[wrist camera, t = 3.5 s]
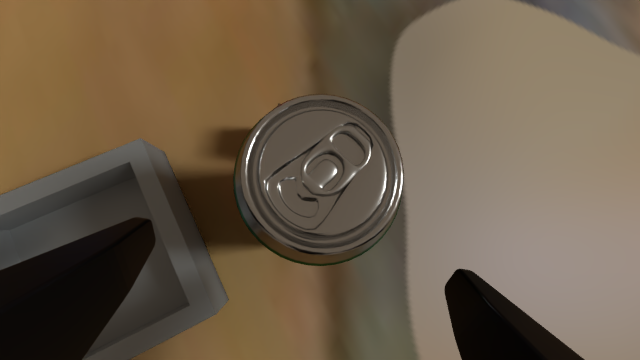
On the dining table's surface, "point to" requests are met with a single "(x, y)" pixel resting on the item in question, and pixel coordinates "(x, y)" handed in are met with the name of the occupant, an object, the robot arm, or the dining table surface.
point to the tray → (110, 209)
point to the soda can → (319, 180)
